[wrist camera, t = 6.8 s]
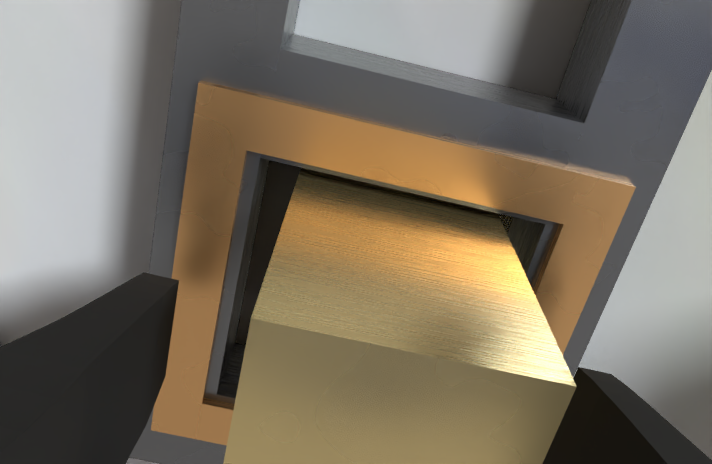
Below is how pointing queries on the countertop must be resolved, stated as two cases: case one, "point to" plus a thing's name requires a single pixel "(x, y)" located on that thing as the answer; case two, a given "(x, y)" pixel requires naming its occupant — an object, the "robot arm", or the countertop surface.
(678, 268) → the countertop surface
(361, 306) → the tan rectangular block
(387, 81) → the grey rectangular frame
